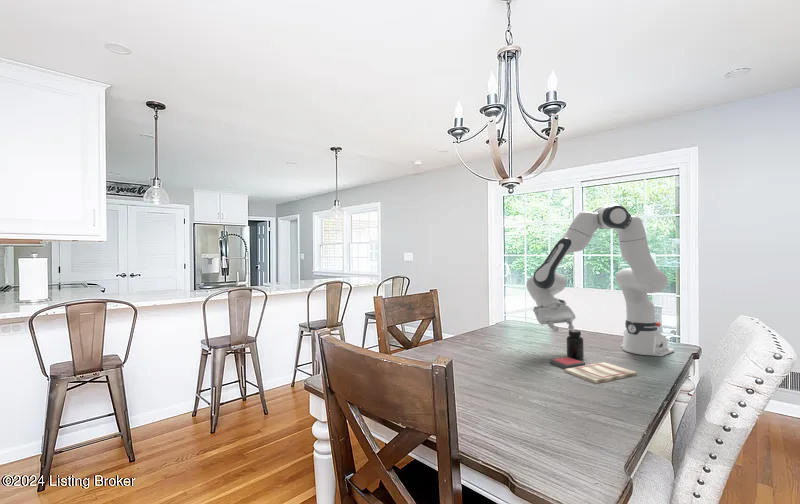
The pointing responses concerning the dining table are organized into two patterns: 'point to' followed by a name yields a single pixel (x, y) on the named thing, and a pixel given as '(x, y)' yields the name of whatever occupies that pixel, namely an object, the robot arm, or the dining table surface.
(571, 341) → the supplement bottle
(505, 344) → the dining table surface
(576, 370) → the marked board
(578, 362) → the ink pad
